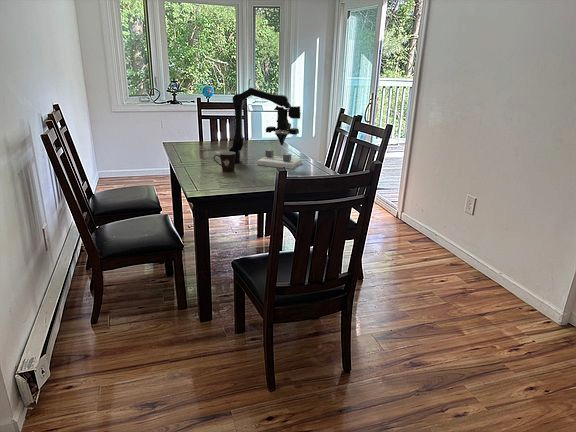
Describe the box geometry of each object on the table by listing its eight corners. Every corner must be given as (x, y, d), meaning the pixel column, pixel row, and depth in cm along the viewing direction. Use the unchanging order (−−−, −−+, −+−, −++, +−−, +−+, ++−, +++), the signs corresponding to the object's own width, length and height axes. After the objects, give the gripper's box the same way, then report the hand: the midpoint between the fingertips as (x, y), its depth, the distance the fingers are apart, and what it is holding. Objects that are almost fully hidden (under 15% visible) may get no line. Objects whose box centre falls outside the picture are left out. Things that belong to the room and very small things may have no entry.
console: (291, 168, 246) (292, 164, 245) (257, 164, 254) (257, 160, 253) (301, 163, 260) (301, 158, 259) (268, 159, 268) (268, 155, 267)
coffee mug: (239, 170, 239) (238, 152, 236) (229, 173, 232) (229, 155, 229) (222, 167, 245) (222, 150, 241) (212, 170, 238) (212, 152, 234)
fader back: (271, 157, 262) (271, 151, 260) (265, 156, 263) (265, 150, 262) (273, 156, 264) (273, 150, 263) (267, 155, 266) (267, 149, 264)
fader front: (289, 161, 251) (289, 155, 250) (282, 160, 253) (282, 154, 252) (291, 160, 254) (291, 154, 253) (284, 159, 256) (284, 153, 254)
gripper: (302, 117, 250) (301, 144, 256) (273, 115, 257) (273, 141, 262) (295, 119, 241) (294, 147, 246) (265, 117, 247) (265, 144, 252)
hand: (282, 145), depth 252 cm, fingers closed
